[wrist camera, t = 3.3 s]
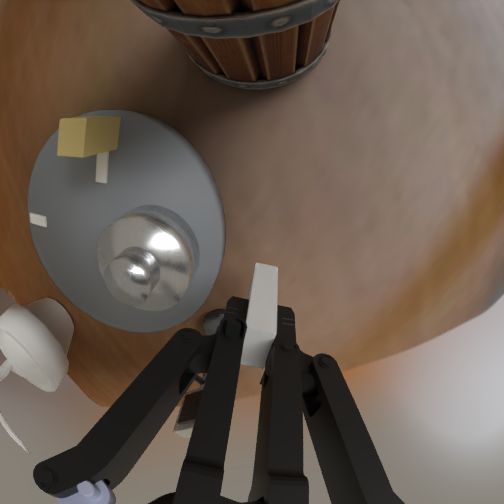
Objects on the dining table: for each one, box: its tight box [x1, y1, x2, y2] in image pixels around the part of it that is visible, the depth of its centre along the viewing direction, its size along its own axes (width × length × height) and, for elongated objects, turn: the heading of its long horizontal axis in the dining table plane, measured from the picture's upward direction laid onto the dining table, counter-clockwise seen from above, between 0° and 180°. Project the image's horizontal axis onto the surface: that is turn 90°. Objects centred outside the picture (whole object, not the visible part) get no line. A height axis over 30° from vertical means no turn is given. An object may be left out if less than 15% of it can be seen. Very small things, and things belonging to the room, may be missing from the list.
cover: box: [97, 205, 200, 311], centre depth 17 cm, size 7×7×5 cm
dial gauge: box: [173, 309, 225, 438], centre depth 21 cm, size 7×4×12 cm, turn 38°
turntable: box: [28, 110, 226, 333], centre depth 19 cm, size 20×20×6 cm
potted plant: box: [0, 297, 74, 454], centre depth 19 cm, size 13×12×25 cm
